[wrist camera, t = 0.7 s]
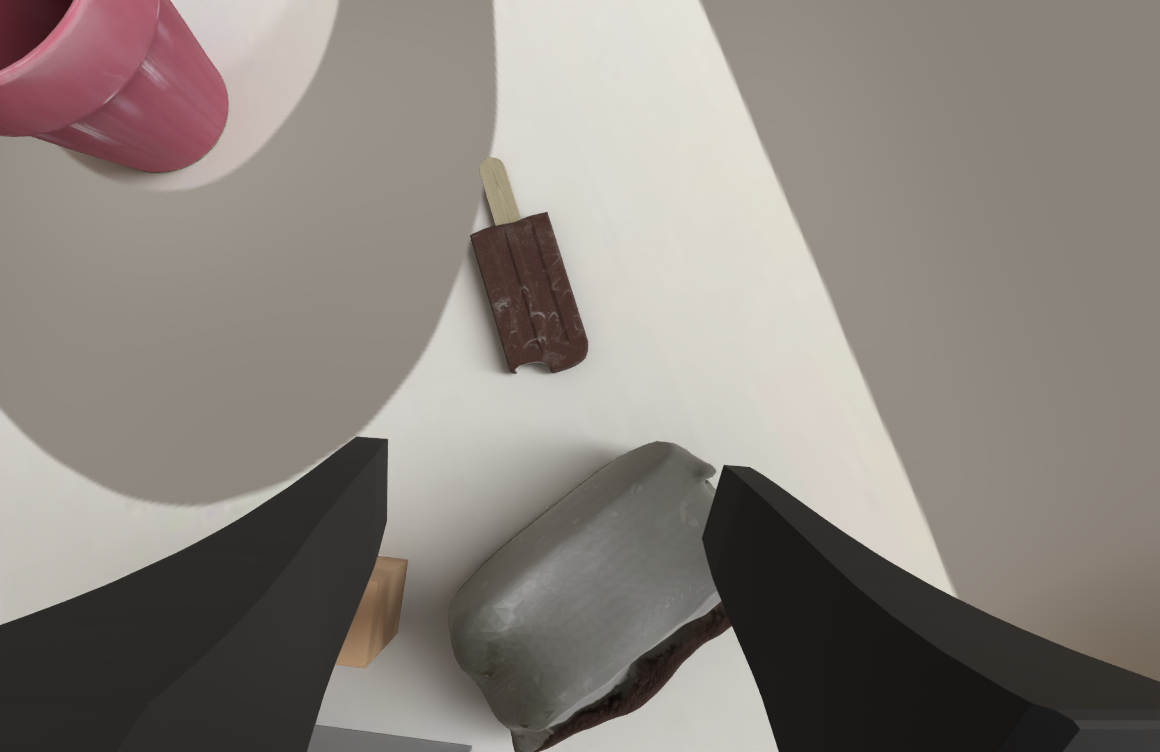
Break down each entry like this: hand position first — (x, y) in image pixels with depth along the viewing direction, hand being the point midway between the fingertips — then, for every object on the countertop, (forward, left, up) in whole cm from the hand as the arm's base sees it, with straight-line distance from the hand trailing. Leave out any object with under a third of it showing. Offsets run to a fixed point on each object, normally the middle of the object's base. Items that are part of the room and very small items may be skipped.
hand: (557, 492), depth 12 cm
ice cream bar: (+12, +5, -24) cm, 27 cm away
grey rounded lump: (-7, -3, -24) cm, 25 cm away
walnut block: (-10, +12, -23) cm, 28 cm away
